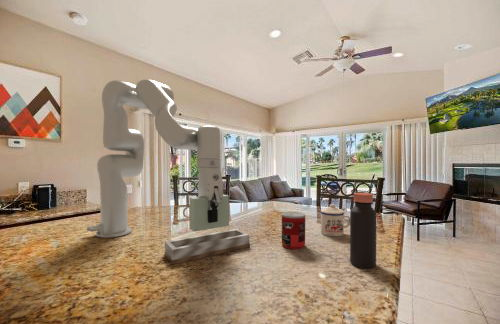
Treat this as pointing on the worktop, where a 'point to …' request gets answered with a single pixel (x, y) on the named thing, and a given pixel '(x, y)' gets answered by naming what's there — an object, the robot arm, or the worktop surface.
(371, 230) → the bottle
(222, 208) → the pale green block
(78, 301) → the worktop surface
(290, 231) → the canned food
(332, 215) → the teacup with lid
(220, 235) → the grey stone tray
